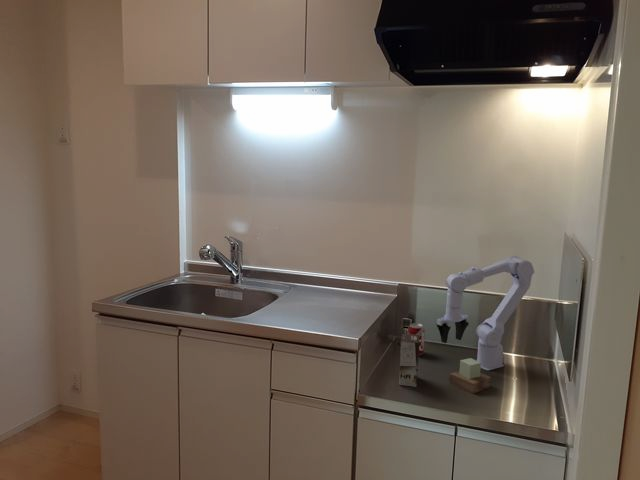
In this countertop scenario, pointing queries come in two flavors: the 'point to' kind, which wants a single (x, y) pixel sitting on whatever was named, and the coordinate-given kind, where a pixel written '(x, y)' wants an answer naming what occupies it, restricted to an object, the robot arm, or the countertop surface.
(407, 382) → the coffee box
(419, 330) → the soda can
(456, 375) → the walnut base
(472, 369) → the sage cube
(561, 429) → the countertop surface
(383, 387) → the countertop surface
